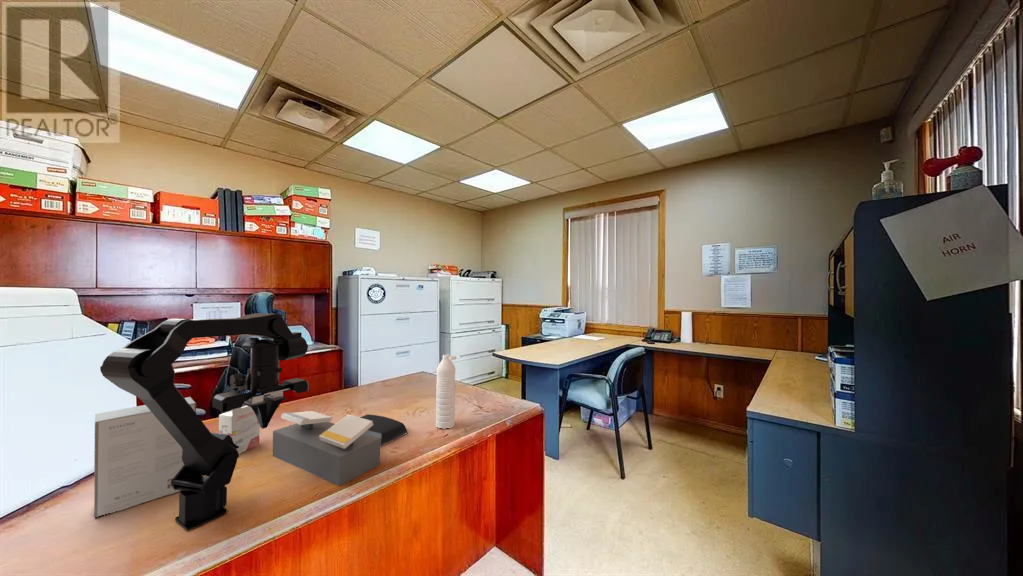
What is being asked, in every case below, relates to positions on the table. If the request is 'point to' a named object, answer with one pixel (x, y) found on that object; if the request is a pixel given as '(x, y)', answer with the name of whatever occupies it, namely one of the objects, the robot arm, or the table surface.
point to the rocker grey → (306, 417)
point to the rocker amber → (346, 431)
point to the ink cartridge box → (241, 427)
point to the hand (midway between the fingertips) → (263, 427)
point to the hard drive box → (133, 459)
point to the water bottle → (445, 392)
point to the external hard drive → (385, 428)
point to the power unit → (325, 452)
